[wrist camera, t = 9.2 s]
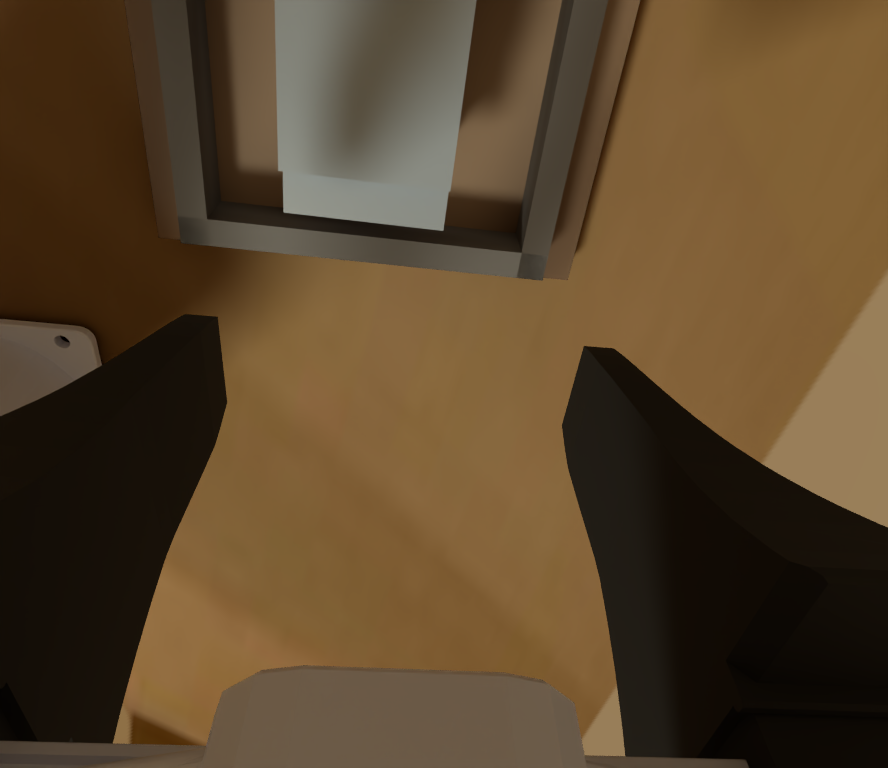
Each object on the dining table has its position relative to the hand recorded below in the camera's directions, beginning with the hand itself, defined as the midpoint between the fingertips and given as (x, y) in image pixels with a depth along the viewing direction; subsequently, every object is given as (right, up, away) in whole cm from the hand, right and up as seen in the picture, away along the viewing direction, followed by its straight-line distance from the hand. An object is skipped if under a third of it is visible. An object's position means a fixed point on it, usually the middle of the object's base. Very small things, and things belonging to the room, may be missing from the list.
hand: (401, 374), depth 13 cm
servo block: (-1, +9, +4) cm, 10 cm away
